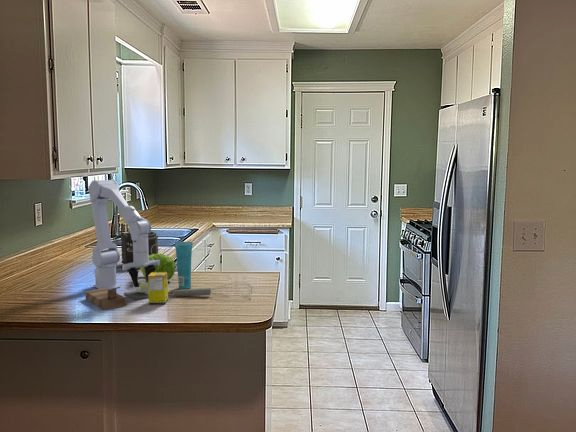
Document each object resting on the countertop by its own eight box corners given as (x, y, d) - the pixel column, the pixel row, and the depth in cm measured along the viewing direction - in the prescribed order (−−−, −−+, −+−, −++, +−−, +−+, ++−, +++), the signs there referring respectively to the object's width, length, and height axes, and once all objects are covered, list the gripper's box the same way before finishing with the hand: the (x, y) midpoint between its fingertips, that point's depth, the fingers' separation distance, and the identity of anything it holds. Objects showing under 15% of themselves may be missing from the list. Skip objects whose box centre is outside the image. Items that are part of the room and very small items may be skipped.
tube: (194, 286, 217) (193, 240, 214) (192, 289, 212) (191, 242, 209) (176, 286, 217) (175, 240, 214) (174, 289, 212) (173, 242, 210)
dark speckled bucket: (156, 260, 271) (155, 230, 269) (161, 267, 254) (160, 235, 252) (120, 262, 265) (119, 231, 263) (122, 269, 248) (121, 237, 246)
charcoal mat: (124, 294, 204) (124, 292, 204) (148, 289, 211) (148, 288, 211) (136, 300, 196) (136, 298, 196) (160, 295, 203) (160, 293, 202)
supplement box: (168, 300, 196) (167, 271, 195) (165, 304, 190) (164, 275, 189) (152, 300, 196) (151, 271, 194) (148, 305, 190) (147, 275, 189)
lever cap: (132, 289, 205) (132, 280, 204) (143, 287, 207) (143, 278, 207) (140, 292, 199) (140, 283, 199) (151, 290, 202) (151, 281, 202)
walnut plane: (85, 299, 197) (85, 283, 197) (106, 295, 203) (106, 280, 202) (103, 309, 184) (103, 293, 183) (125, 305, 189) (125, 289, 188)
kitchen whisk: (170, 294, 205) (170, 279, 204) (253, 296, 203) (253, 280, 202) (166, 298, 199) (165, 283, 198) (251, 300, 197) (251, 284, 196)
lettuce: (163, 260, 242) (138, 247, 235) (185, 262, 225) (158, 248, 217) (151, 285, 238) (125, 273, 231) (172, 290, 221) (144, 276, 213)
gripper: (127, 255, 194) (128, 290, 195) (162, 250, 203) (163, 284, 205) (119, 252, 199) (120, 287, 201) (154, 248, 208) (155, 281, 210)
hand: (142, 285), depth 203 cm, fingers closed on lever cap, 4 cm apart
